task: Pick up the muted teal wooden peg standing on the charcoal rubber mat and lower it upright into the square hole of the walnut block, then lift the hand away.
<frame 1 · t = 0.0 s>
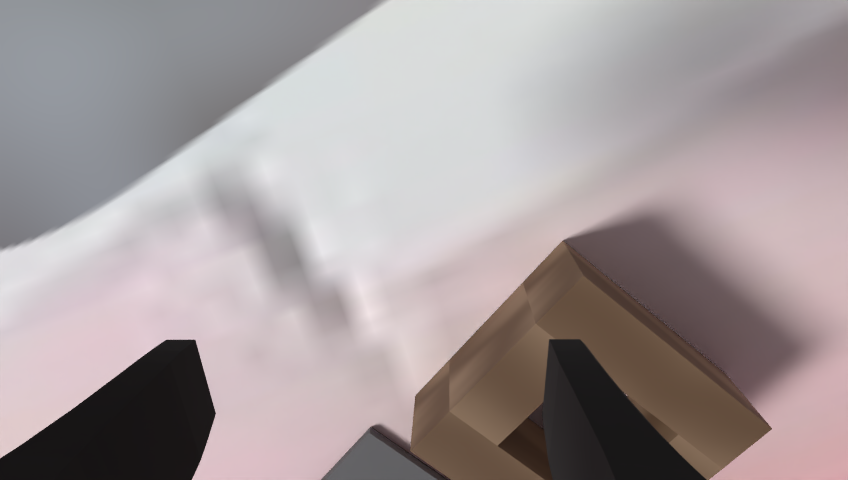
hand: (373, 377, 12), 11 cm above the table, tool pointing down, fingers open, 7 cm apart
hole block: (567, 385, 24), on the table
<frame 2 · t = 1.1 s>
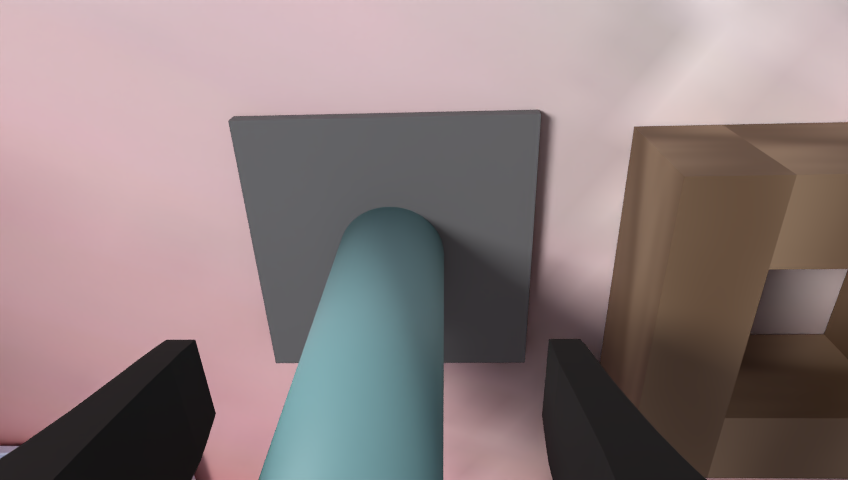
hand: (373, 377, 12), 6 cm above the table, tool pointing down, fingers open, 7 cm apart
peg: (391, 254, 16), resting on mat
mat: (393, 247, 17), on the table
hole block: (768, 273, 17), on the table
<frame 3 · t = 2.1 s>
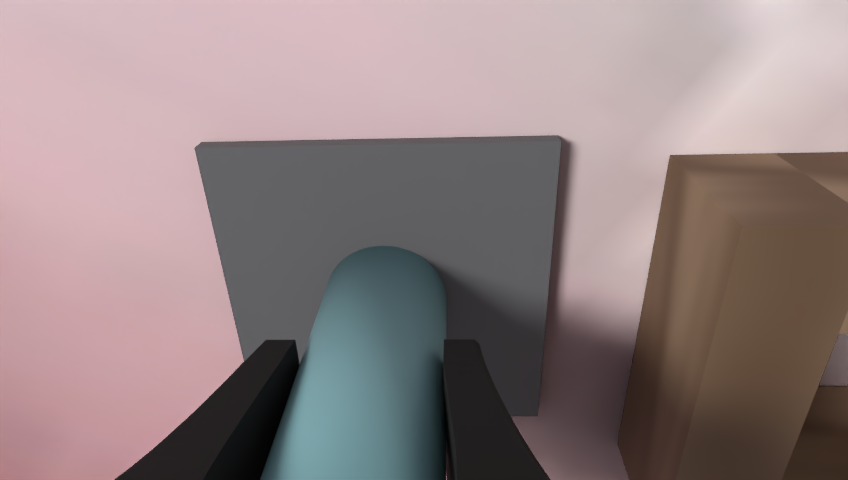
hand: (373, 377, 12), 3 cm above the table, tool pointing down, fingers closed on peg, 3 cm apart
peg: (386, 298, 14), resting on mat, touching gripper
mat: (388, 289, 15), on the table
hole block: (818, 319, 14), on the table
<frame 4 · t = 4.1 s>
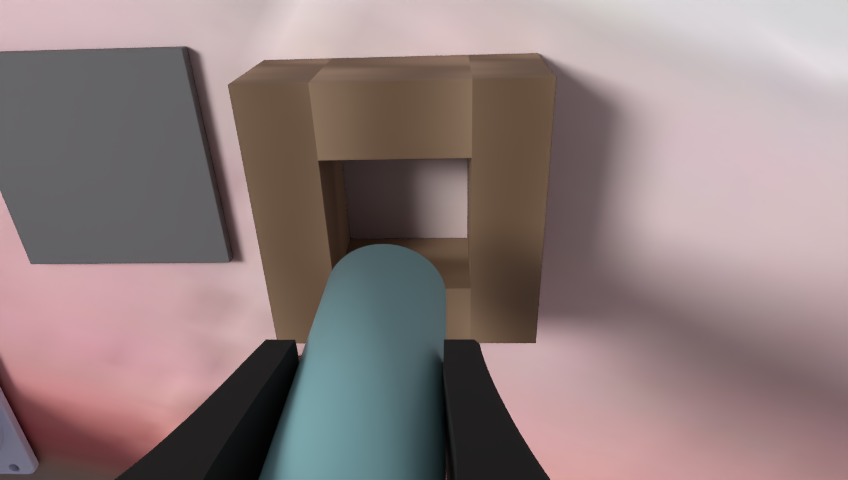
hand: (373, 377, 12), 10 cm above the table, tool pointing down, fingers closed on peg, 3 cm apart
peg: (386, 296, 14), point 7 cm above the table, touching gripper
mat: (104, 163, 21), on the table
hole block: (405, 184, 21), on the table
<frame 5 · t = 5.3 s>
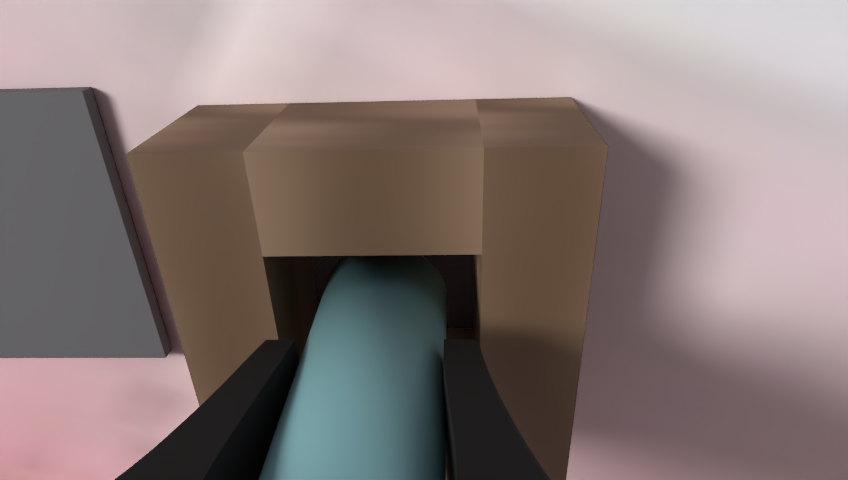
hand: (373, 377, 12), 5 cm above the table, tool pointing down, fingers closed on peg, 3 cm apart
peg: (386, 296, 14), point 2 cm above the table, touching gripper
hole block: (392, 263, 16), on the table
when the fingers open (4 cm above the table, at t = 6.1 s): peg drops 2 cm, resting in hole block.
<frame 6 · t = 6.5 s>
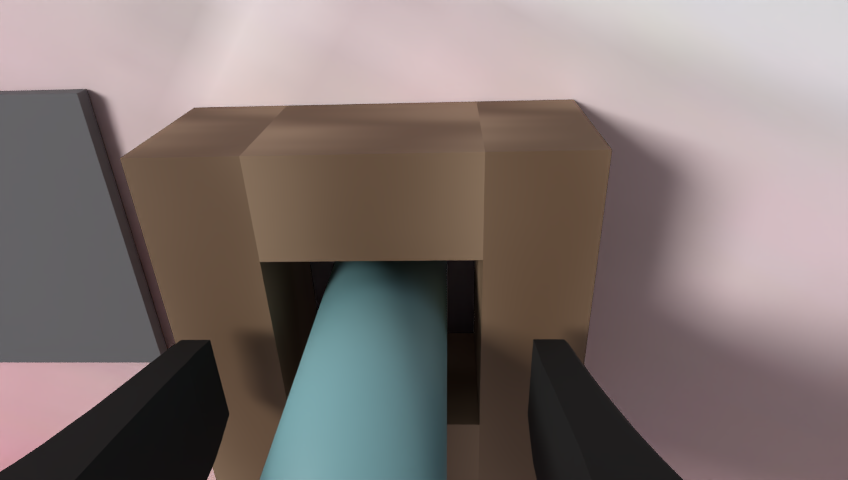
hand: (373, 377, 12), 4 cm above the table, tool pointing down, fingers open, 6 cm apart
peg: (392, 265, 16), resting in hole block
hole block: (391, 267, 16), on the table
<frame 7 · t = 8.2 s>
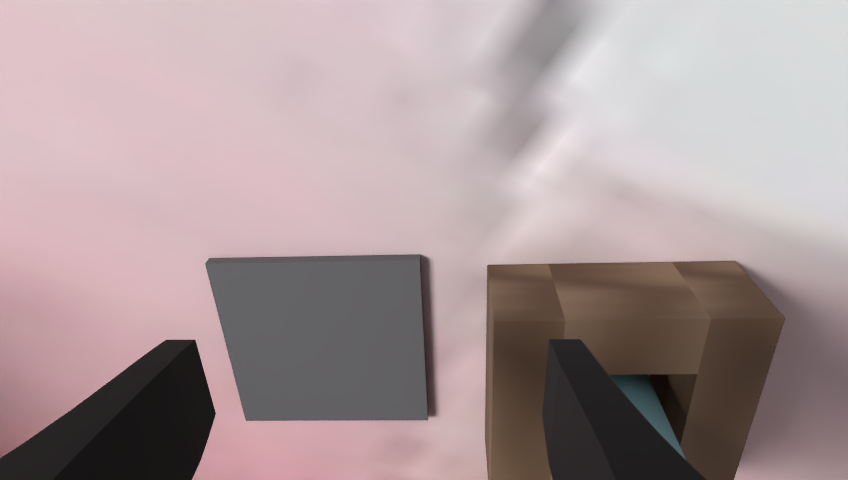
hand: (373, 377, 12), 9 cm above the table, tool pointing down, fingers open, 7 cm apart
peg: (597, 357, 23), resting in hole block
mat: (326, 341, 23), on the table
hole block: (597, 358, 23), on the table
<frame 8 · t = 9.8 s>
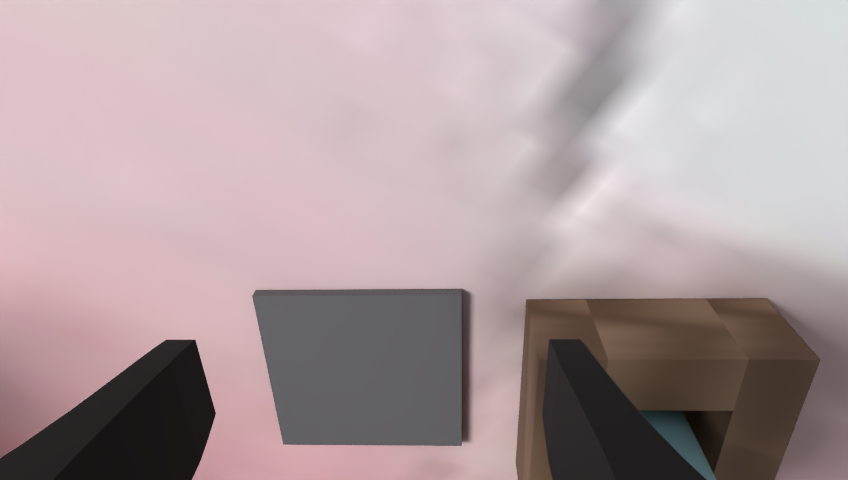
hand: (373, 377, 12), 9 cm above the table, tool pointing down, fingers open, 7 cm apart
peg: (629, 387, 24), resting in hole block
mat: (365, 369, 24), on the table
hole block: (628, 388, 24), on the table
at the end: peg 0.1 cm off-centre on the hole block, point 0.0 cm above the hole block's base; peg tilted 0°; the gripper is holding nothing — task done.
